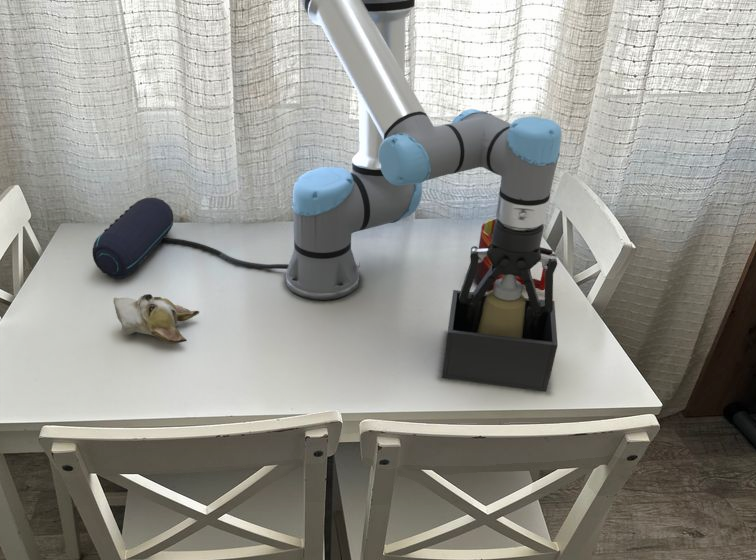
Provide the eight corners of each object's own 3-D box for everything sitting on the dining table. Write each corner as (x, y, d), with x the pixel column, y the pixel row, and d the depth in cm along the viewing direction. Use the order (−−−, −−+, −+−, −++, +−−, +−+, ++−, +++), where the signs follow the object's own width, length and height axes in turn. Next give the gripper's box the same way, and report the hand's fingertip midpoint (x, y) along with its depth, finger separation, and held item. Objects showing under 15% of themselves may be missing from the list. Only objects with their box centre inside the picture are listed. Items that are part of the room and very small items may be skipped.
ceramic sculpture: (122, 275, 137) (198, 284, 136) (127, 313, 142) (200, 322, 141) (102, 306, 129) (183, 316, 128) (107, 345, 134) (186, 354, 133)
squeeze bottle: (469, 340, 131) (482, 253, 120) (514, 340, 131) (531, 253, 120) (476, 367, 125) (491, 278, 114) (523, 368, 124) (542, 278, 114)
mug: (544, 295, 146) (556, 243, 139) (475, 292, 148) (483, 239, 140) (538, 271, 154) (548, 220, 147) (472, 268, 155) (479, 217, 148)
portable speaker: (142, 228, 172) (135, 189, 166) (180, 233, 170) (175, 194, 164) (89, 281, 153) (80, 239, 147) (132, 287, 151) (124, 245, 145)
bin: (441, 377, 125) (447, 332, 119) (447, 333, 136) (453, 289, 130) (546, 391, 122) (557, 345, 116) (544, 345, 133) (554, 300, 127)
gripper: (450, 225, 111) (436, 344, 125) (591, 238, 107) (561, 359, 121) (454, 205, 117) (440, 320, 131) (587, 216, 113) (559, 334, 127)
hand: (498, 339), depth 126 cm, fingers closed on squeeze bottle, 8 cm apart
